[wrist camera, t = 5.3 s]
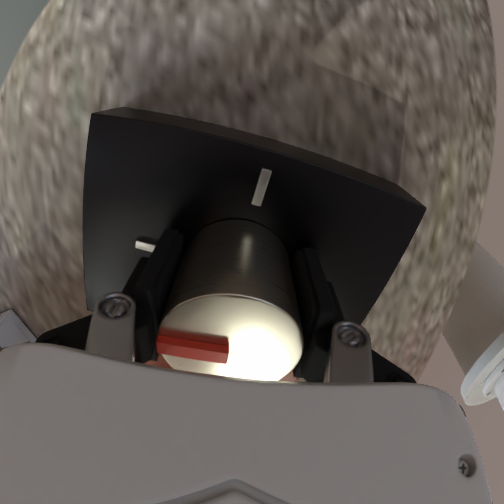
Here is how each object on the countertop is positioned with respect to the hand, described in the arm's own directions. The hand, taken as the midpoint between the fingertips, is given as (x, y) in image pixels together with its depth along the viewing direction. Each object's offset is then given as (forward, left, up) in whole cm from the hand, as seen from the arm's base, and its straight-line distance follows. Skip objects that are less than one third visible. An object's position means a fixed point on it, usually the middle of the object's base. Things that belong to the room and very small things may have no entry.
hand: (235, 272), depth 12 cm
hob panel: (0, 0, -3) cm, 3 cm away
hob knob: (0, 0, 0) cm, 0 cm away
